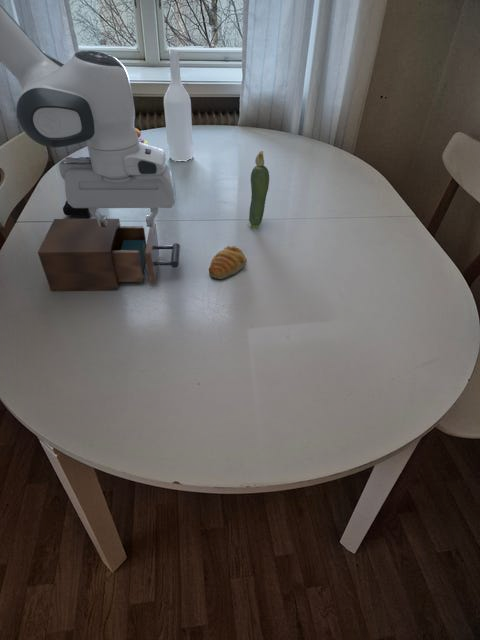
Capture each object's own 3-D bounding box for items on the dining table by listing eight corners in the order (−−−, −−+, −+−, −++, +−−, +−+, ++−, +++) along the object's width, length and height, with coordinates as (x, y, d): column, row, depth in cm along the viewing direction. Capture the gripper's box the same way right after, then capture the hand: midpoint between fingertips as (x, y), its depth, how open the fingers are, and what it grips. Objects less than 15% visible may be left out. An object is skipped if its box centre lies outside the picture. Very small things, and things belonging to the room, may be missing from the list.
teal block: (143, 274, 90) (140, 258, 88) (121, 274, 90) (118, 258, 87) (146, 255, 95) (144, 239, 93) (125, 255, 95) (123, 240, 92)
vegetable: (250, 222, 111) (254, 144, 97) (266, 224, 110) (272, 146, 97) (246, 231, 108) (250, 151, 94) (263, 233, 107) (269, 153, 93)
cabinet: (126, 255, 99) (119, 218, 92) (117, 290, 89) (109, 251, 83) (65, 256, 98) (54, 218, 91) (51, 291, 89) (37, 252, 82)
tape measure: (63, 219, 110) (60, 205, 107) (74, 206, 115) (70, 193, 112) (90, 221, 109) (86, 207, 107) (99, 208, 114) (96, 194, 112)
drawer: (181, 253, 98) (179, 223, 93) (179, 284, 90) (176, 253, 85) (103, 254, 97) (96, 223, 92) (94, 285, 89) (86, 254, 84)
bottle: (172, 163, 136) (162, 54, 115) (165, 153, 141) (156, 48, 121) (196, 160, 138) (191, 52, 118) (189, 151, 144) (183, 46, 123)
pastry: (227, 285, 92) (227, 270, 89) (200, 275, 94) (200, 261, 91) (248, 263, 98) (249, 249, 95) (223, 254, 100) (223, 240, 97)
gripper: (51, 164, 74) (70, 234, 83) (171, 165, 75) (176, 233, 85) (60, 150, 78) (77, 217, 88) (173, 151, 80) (178, 217, 89)
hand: (127, 225), depth 86 cm, fingers open, 8 cm apart
